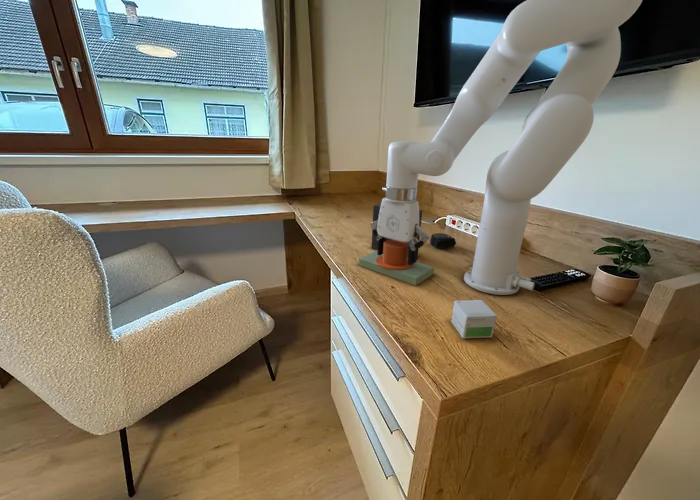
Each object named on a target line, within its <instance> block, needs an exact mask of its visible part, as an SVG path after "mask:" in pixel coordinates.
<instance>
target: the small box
mask: <svg viewBox="0 0 700 500" xmlns="http://www.w3.org/2000/svg"><path fill="white" fill-rule="evenodd" d="M496 321H497V314H496V313H495V312H494V310H492V309H491V308H490V307H489V305H488V304H487V303H485V302H484V300H483V299H472V300H471V299H468V300H466V299H465V300H454V302H453V308H452V315H451V322H450V323H452V325H453V327H454V328H455V329H456V331H457V332H458V334H459V335H460V337H461V338H462V339H464V340H465V339H480V338H481V339H482V338H486V339H487V338H493V335H494V330H495V325H496Z"/></svg>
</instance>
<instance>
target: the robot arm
mask: <svg viewBox="0 0 700 500" xmlns="http://www.w3.org/2000/svg"><path fill="white" fill-rule="evenodd" d="M642 2H643V0H524V1H523V2H521V3H520V4H518V5H517V6H516V7H515V8H514V9H512V10H511V11H510V13H509V15H507V17H506V19H505V20H504V22H503V25H502V28H501V30H500V31H499V33H498V34H497V36H496V38H495V39H494V41H493V42H492V44H491V45H490V47H489V48H488V50H487V51H486V53H484V56H483V57H482V59H481V60H480V62H478V65H477V66H476V68H475V69H474V70H473V71H472V73H471V75H470V76H469V77H468V79H467V80H466V81H465V83H464V84H463V86H462V88H461V89H460V91H459V93H458V95H457V97H456V99H455V101H454V103H453V106H452V109H451V110H450V112H449V114H448V116H446V119H445V121H444V122H443V123H442V125H441V126H440V128H439V129H438V130H437V133H435V135H434V136H433V138H432V140H431V141H429V142H428V141H427V142H417V141H409V140H407V141H401V140H399V141H398V140H395V141H392V142H391V143H389V145H388V149H387V150H388V151H387V167H386V183H385V186H383V187H382V193H384V194H385V197H383V198H382V199H381V202H380V204H381V207H380V212H379V218H378V220H376V221H374V222H373V221H372V222H370V227H371V230H373V233H374V235H375V237H376V240H377V241H378V245H377V250H376V251H378V252H377V255H382V254H383V246H384V242H385V241H387V240H386V239H385V238H389V239H393V240H397V241H401V242H408V244H409V246H410V248H411V250H409V255H408V264H409V265H412V264H413V263H415V262H417V261H418V256H419V249H420V248H421V247H423V246H424V245H426V243H427V242H428V240H429V239H430V238H431V235H430V234H429V233H428V232H427V231H426V230H425V229H423V227H420V226H419V210H420V205H419V200H417V194H418V193H417V192H418V185H419V183H418V182H419V175H424V176H429V177H441V176H443V175H445V174H446V173H447V172H449V170H451V168H452V166H453V164H454V161H455V160H457V157H458V156H459V155H460V153H461V152H462V151H463V149H464V148H465V146H466V145H467V144H468V142H469V141H470V140H472V137H473V136H474V135H475V134H476V133H477V131H479V129H480V128H481V127H482V126H483V125H484V124H486V122H487V121H488V120H489V119H490V118H491V117H492V116H493V115H494V114H495V113H496V111H497V110H498V109H499V107H500V106H501V104H502V103H503V102H504V101H505V99H506V98H507V96H508V95H509V94H510V93H511V91H512V90H513V88H514V87H515V86H516V85H517V83H518V82H519V81H520V79H521V78H522V76H523V75H524V74H525V73H526V71H528V69H529V68H530V66H531V65H532V63H533V62H534V60H535V59H536V58H537V57H538V56H539V54H540V53H541V52H542V51H546V50H548V49H553V48H555V47H558V46H563V45H566V58H565V61H564V63H563V65H562V67H561V68H560V70H559V71H558V73H557V75H556V76H555V77H554V79H553V80H552V82H551V83H550V85H549V87H548V88H547V89H546V90H545V92H544V93H543V94H542V95H541V97H540V98H539V100H538V102H537V103H536V104H535V105H534V107H533V108H532V109H531V110H530V111H529V113H528V114H527V115H526V117H525V119H524V121H523V125H522V132H521V133H520V135H519V136H518V138H517V139H516V140H515V142H514V143H513V145H512V146H511V147H510V149H509V150H505V151H504V152H502V153H500V154H498V155H497V156H496V157H495V158H493V160H492V162H491V164H490V165H489V168H488V169H487V174H486V179H485V189H484V196H483V204H482V210H481V216H480V221H479V228H478V234H477V239H476V244H475V251H474V257H473V262H472V268H471V269H470V270H468V271H466V272H465V273H464V274H463V275H464V276H463V280H464V282H465V284H467V285H468V286H469V287H471V288H472V289H475V290H476V291H478V292H479V291H480V292H482V293H485V294H490V295H497V296H509V295H513V294H516V293H517V292H519V290H520V288H523V289H525V290H528V291H533V290H534V288H535V282H533V281H532V278H530V277H526V276H523V275H522V276H521V274H520V268H517V266H518V264H519V263H518V262H519V258H520V253H521V250H522V245H523V240H524V235H525V232H526V226H527V223H528V220H529V215H530V214H529V213H530V208H531V202H532V199H533V198H535V197H537V196H538V195H539V194H541V193H542V192H543V191H544V190H545V189H546V188H547V187H548V186H549V185H550V184H551V182H552V181H553V180H554V179H555V178H556V177H557V175H558V174H559V173H560V172H561V170H562V169H563V168H564V166H565V165H566V164H567V163H568V162H569V161H570V159H571V158H572V157H573V156H574V154H575V153H576V152H577V151H578V150H579V148H580V147H581V146H582V145H583V143H584V142H585V140H586V139H587V137H588V136H589V134H590V132H591V129H592V127H593V123H594V120H595V119H594V118H595V114H594V110H593V105H594V103H595V102H596V100H597V99H598V98H599V96H600V95H601V93H602V92H603V91H604V89H606V87H607V85H608V84H609V83H610V81H611V79H612V78H613V76H614V74H615V72H616V70H617V69H618V66H619V62H620V59H621V53H622V41H621V32H620V29H619V27H620V26H622V25H623V24H624V23H625V22H627V21H628V20H630V18H631V17H632V16H633V15H634V14H635V13H636V11H638V9H639V7H640V6H641V4H642ZM418 234H419V235H420V239H419V241H418V240H417V237H418Z"/></svg>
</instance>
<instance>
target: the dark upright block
mask: <svg viewBox="0 0 700 500" xmlns="http://www.w3.org/2000/svg"><path fill="white" fill-rule="evenodd" d="M380 207H381V203H378V204H374V205H373V209H372V222H374V221H376V220H378V218H379V212H380ZM422 219H423V210H422V209H419V226H420V227H421V226H422ZM421 228H422V227H421ZM371 230H372V229H371ZM385 239H386V240H393V239H389V238H385ZM420 239H421V236H420V235H419V234H418V237H417V240H418V241H420ZM407 243H408V242H407ZM377 245H378V241H377V240H376V237H375V235H374V233H373V230H372V231H371V247H370V248H371V249H373V250H376V251H378V250H377ZM409 250H411V248H410V246H409V244H408V253H407V257H408V255H409Z"/></svg>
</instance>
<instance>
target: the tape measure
mask: <svg viewBox="0 0 700 500" xmlns="http://www.w3.org/2000/svg"><path fill="white" fill-rule="evenodd" d="M429 242H430V245H431V246H432V247H435V248H437V249H445V248H452V247H455V246H456V244H457V241H456V239H455V237H452V236H451V235H449V234H448V233H442V232H437V233H432V234H431V235H430V241H429Z"/></svg>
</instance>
